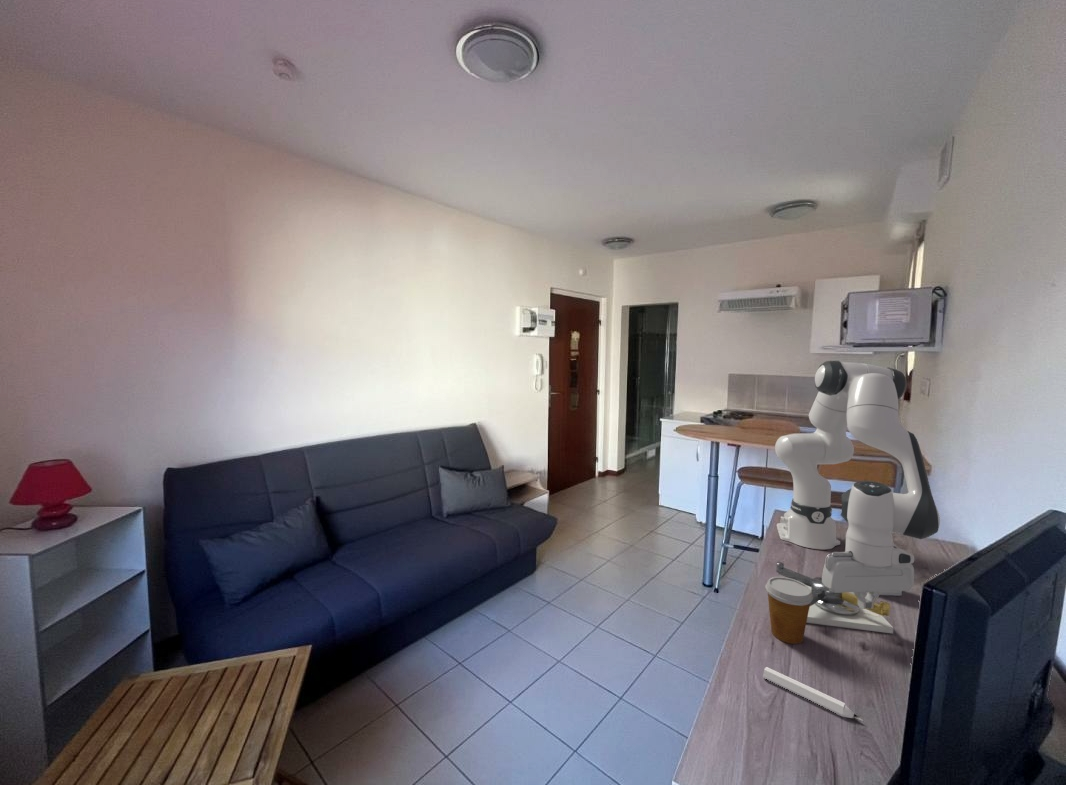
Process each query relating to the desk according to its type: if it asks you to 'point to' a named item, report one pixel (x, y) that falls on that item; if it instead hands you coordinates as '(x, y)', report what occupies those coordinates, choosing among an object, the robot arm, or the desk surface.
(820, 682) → the desk surface
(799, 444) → the robot arm
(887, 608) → the capstan
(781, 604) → the disposable coffee cup
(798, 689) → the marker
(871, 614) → the stand
